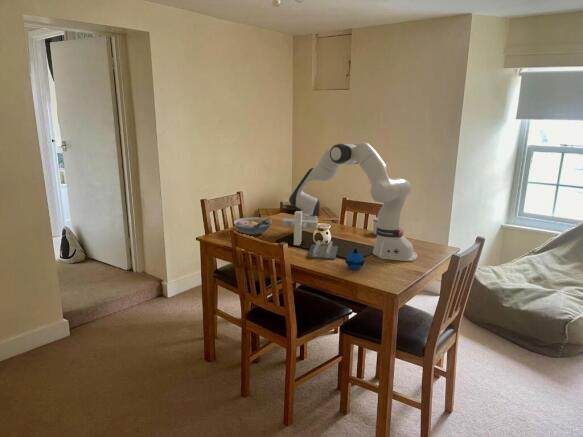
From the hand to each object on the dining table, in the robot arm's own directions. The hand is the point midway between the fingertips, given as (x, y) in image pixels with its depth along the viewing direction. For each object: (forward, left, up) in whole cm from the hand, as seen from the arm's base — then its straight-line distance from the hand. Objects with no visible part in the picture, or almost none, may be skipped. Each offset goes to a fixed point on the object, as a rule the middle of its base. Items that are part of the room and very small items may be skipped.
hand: (298, 226), depth 238 cm
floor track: (-18, +8, -10) cm, 22 cm away
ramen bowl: (+32, -6, -10) cm, 34 cm away
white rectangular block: (0, 0, -10) cm, 10 cm away
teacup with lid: (-36, -44, -10) cm, 58 cm away
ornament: (-40, +24, -10) cm, 47 cm away
